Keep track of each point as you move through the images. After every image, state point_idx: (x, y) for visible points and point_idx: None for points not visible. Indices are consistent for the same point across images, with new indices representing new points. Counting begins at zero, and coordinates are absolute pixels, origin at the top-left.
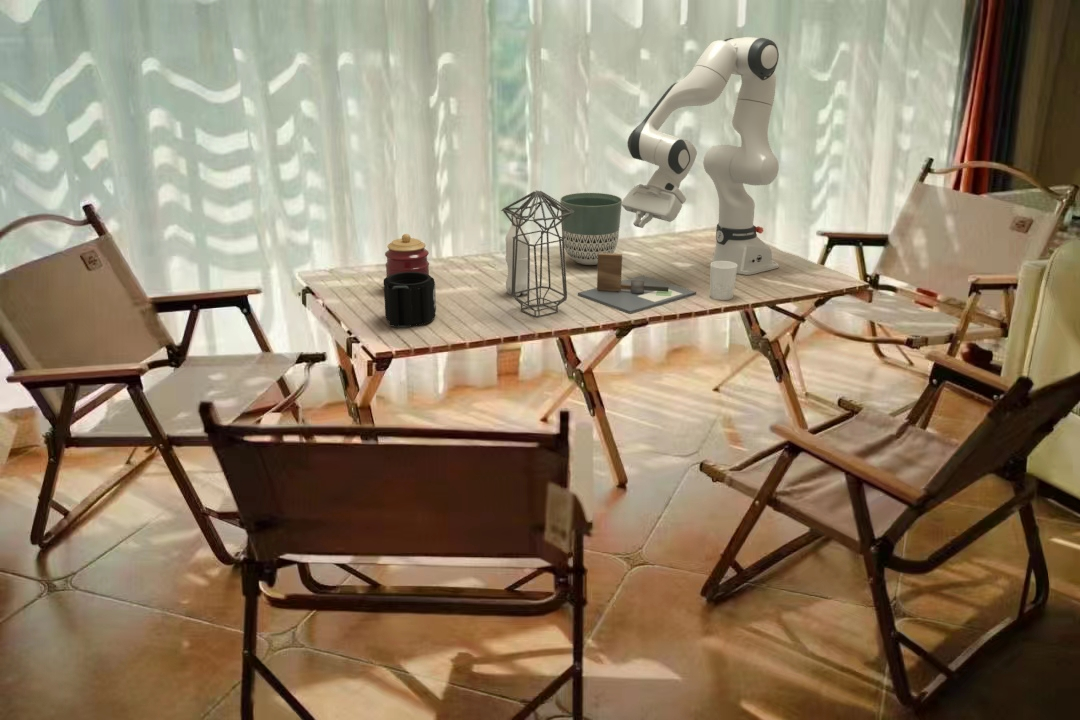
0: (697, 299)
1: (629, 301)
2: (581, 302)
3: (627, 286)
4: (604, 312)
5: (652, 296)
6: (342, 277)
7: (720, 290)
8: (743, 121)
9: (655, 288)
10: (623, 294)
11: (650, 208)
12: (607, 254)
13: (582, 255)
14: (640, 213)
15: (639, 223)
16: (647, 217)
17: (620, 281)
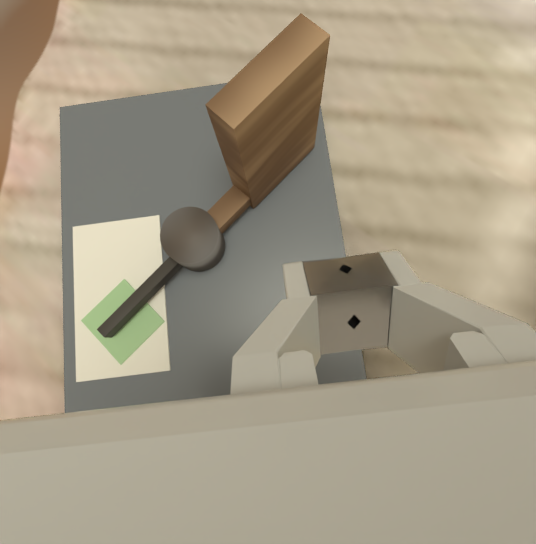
0: (27, 411)
1: (135, 161)
2: (244, 50)
3: (215, 205)
4: (125, 58)
5: (122, 258)
6: None
7: None
8: None
9: (137, 290)
10: (209, 189)
11: (215, 458)
12: (272, 55)
13: None
14: (454, 365)
15: (301, 266)
16: (245, 357)
17: (230, 175)
